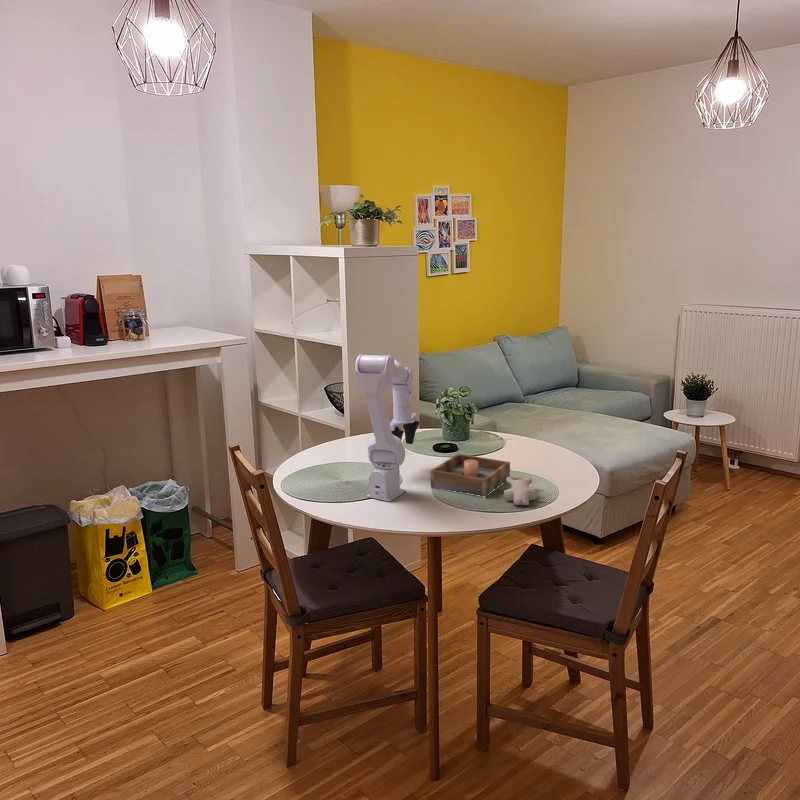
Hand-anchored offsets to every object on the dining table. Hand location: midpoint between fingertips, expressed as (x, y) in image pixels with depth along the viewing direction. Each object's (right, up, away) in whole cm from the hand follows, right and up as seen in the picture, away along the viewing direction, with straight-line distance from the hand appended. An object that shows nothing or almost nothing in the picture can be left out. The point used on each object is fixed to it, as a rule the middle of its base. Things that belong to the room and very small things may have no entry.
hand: (403, 446), depth 230 cm
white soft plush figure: (+34, -14, -19) cm, 41 cm away
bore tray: (+21, -11, -6) cm, 24 cm away
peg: (+21, -11, -6) cm, 24 cm away
